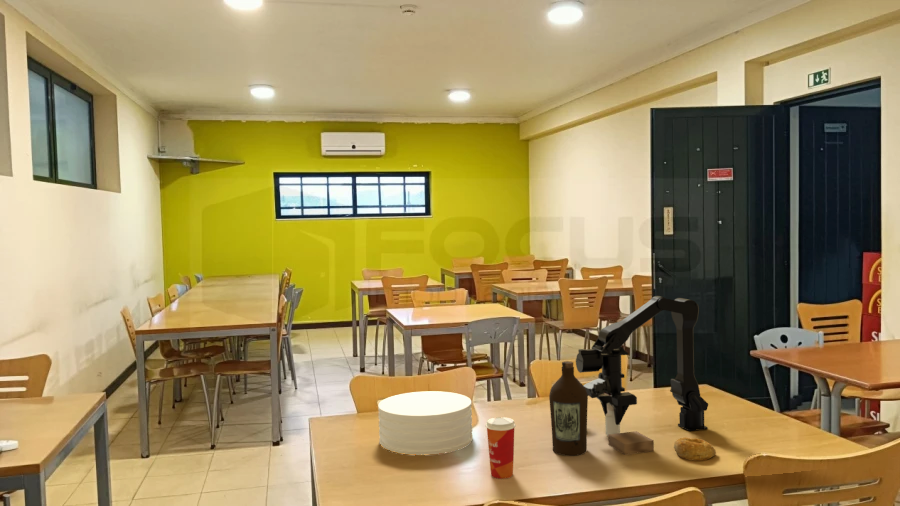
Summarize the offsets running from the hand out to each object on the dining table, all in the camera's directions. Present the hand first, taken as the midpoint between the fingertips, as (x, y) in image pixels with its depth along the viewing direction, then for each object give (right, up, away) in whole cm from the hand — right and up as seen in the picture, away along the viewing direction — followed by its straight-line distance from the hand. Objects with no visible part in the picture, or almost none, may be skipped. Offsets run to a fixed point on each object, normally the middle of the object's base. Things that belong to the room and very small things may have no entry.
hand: (612, 421), depth 201 cm
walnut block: (+2, -4, -12) cm, 13 cm away
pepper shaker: (0, -4, 0) cm, 4 cm away
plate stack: (-56, -6, +1) cm, 56 cm away
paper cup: (-35, -7, -29) cm, 46 cm away
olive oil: (-15, -5, -12) cm, 20 cm away
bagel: (+18, -5, -19) cm, 26 cm away
